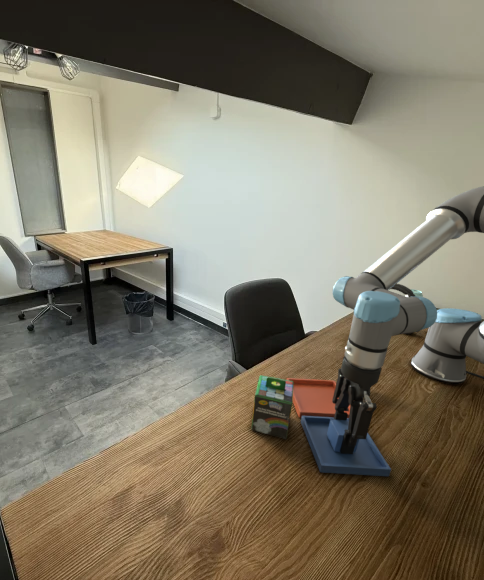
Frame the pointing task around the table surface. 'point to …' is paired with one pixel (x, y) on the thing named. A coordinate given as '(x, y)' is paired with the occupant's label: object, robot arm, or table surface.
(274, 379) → the chalk box
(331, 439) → the blue block
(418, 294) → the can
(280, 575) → the table surface
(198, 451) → the table surface
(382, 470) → the blue tray
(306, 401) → the terracotta tray
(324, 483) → the table surface
